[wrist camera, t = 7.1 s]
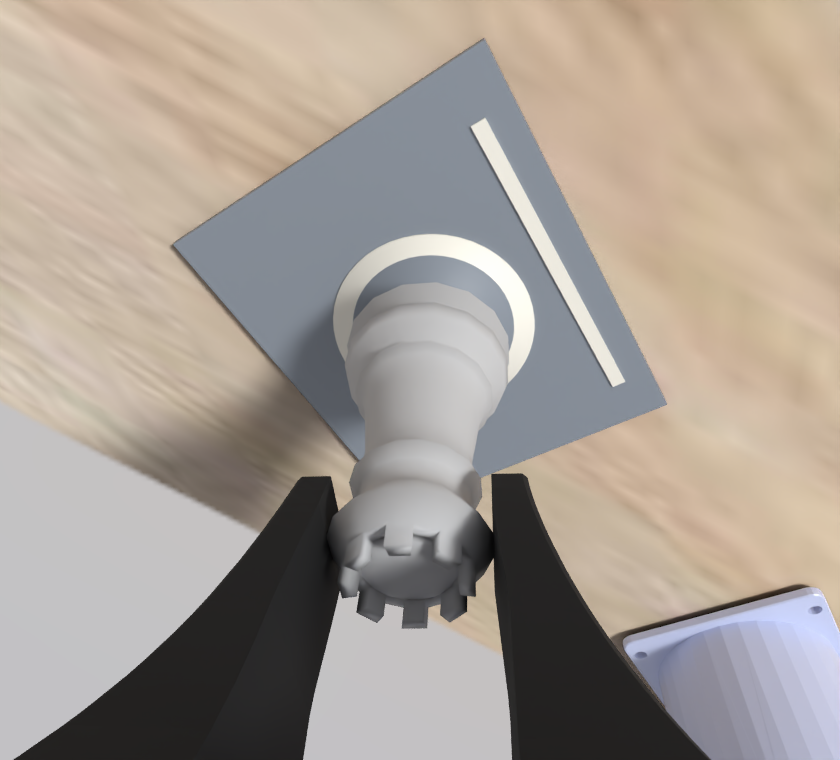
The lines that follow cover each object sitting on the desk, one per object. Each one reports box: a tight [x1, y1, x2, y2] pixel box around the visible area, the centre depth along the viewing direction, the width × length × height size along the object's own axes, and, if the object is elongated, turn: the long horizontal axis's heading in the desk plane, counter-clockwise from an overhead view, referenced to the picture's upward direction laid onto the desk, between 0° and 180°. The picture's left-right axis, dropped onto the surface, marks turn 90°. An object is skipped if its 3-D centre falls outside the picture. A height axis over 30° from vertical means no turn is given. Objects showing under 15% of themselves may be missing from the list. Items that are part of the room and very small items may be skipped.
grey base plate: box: [173, 38, 667, 478], centre depth 19 cm, size 12×10×1 cm
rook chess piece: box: [327, 282, 509, 628], centre depth 15 cm, size 4×4×8 cm
